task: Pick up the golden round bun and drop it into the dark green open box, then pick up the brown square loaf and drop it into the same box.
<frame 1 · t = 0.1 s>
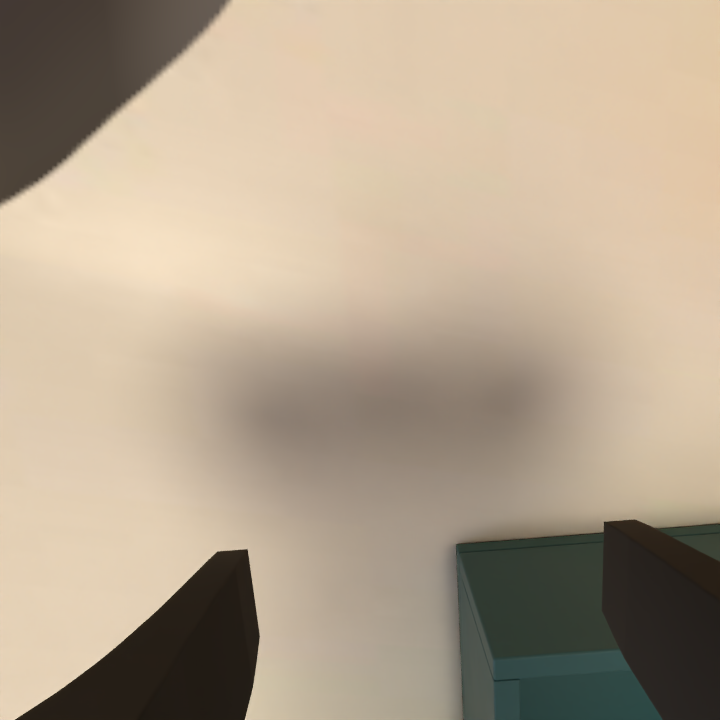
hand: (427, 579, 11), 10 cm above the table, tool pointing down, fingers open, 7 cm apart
dark green open box: (597, 685, 24), on the table
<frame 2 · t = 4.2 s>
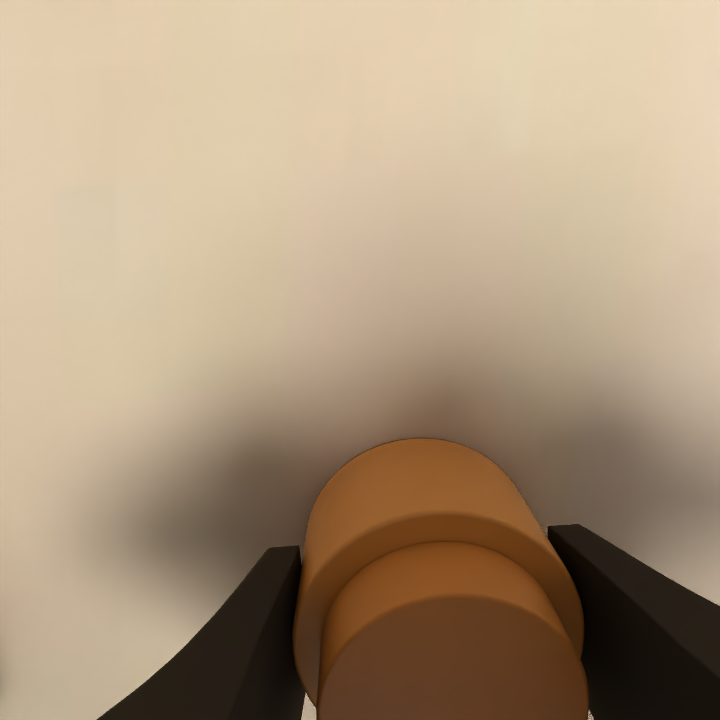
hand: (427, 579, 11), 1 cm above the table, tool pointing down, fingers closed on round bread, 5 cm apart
round bread: (417, 541, 13), on the table, touching gripper
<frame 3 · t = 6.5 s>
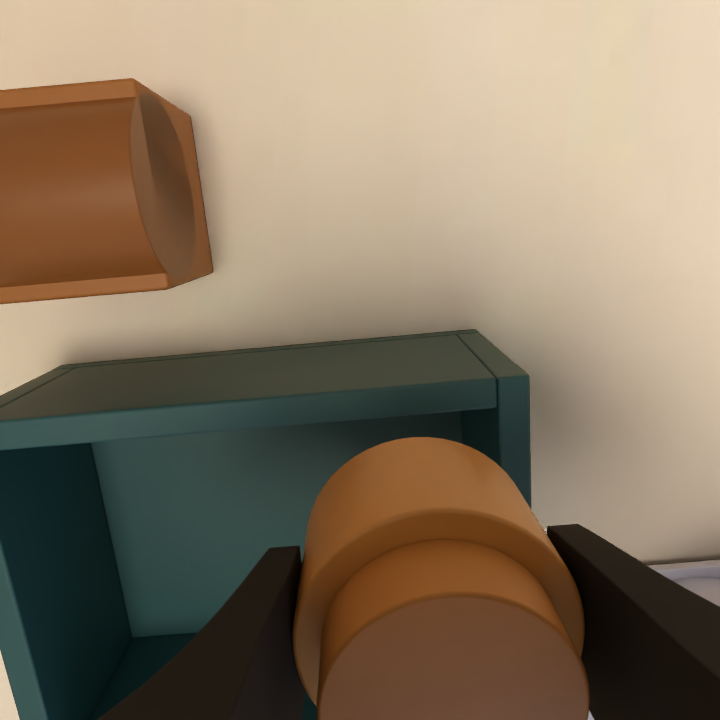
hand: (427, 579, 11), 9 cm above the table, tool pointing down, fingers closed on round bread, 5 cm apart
dark green open box: (287, 497, 21), on the table
square bread: (126, 203, 18), on the table
round bread: (417, 540, 13), point 8 cm above the table, touching gripper
when the fingers open (5 cm above the table, at t = 8.7 s): round bread drops 3 cm, resting on dark green open box.
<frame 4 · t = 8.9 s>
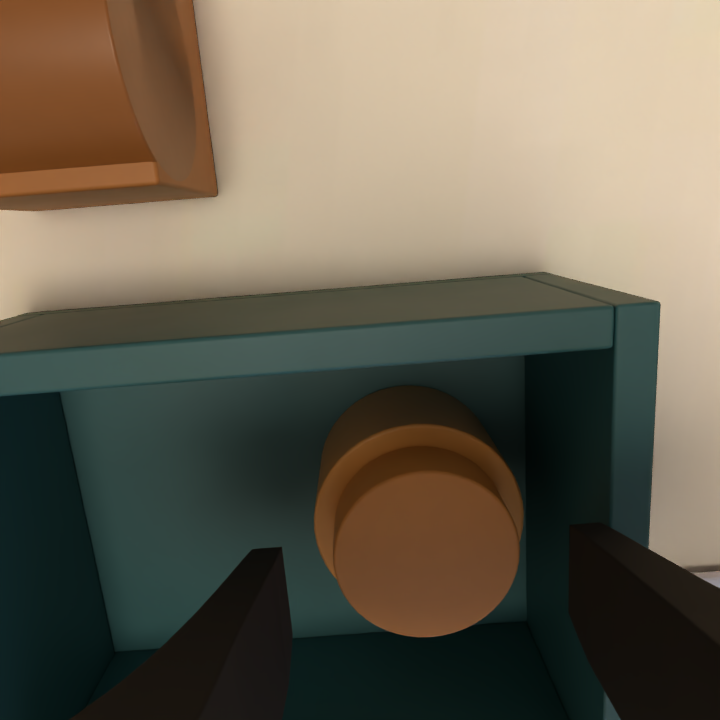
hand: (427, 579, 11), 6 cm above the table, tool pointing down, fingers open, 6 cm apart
dark green open box: (306, 482, 17), on the table
square bread: (109, 104, 15), on the table
round bread: (406, 467, 16), point 1 cm above the table, touching dark green open box
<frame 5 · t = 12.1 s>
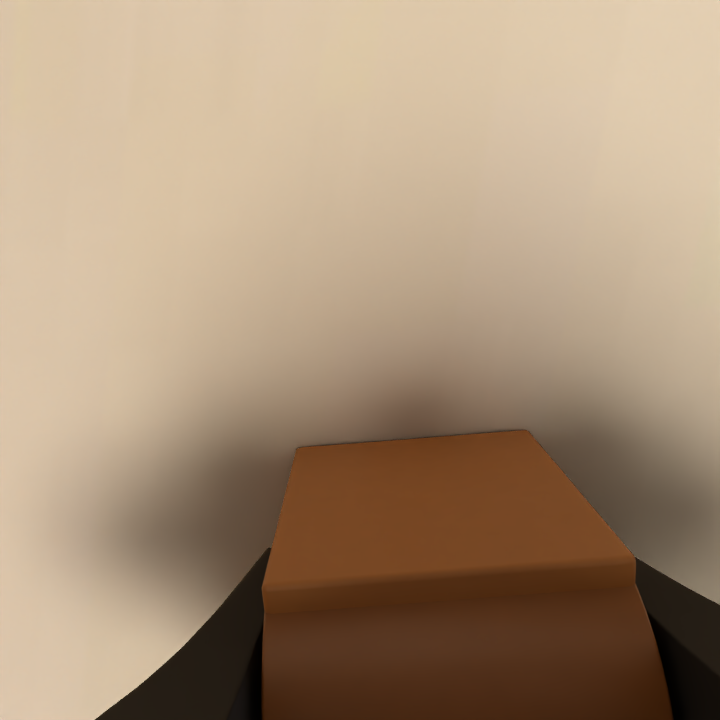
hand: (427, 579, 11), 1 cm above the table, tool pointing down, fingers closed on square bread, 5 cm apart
square bread: (417, 541, 13), on the table, touching gripper
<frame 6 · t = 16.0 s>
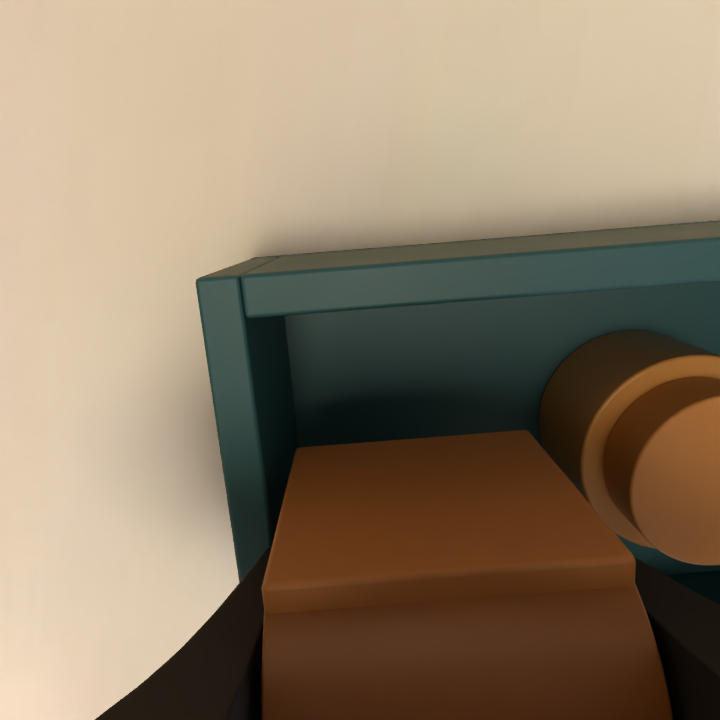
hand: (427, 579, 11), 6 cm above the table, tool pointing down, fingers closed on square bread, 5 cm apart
dark green open box: (513, 430, 17), on the table
square bread: (417, 541, 13), point 5 cm above the table, touching gripper
round bread: (622, 413, 16), point 1 cm above the table, touching dark green open box
when the fingers open (9 cm above the table, at t = 35.7 s): square bread drops 7 cm, resting on dark green open box.
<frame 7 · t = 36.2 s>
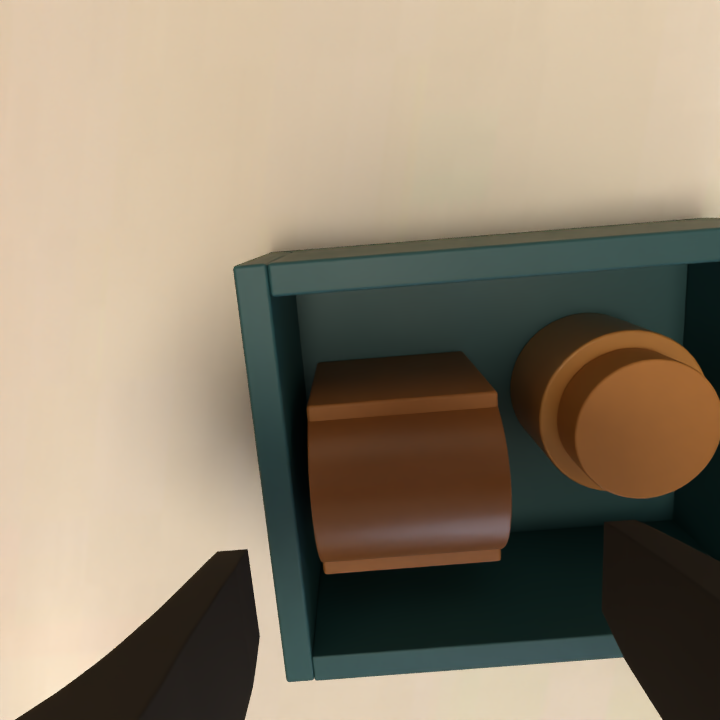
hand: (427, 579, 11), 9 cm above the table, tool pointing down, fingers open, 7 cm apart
dark green open box: (490, 399, 20), on the table
square bread: (394, 425, 20), point 1 cm above the table, touching dark green open box
round bread: (581, 383, 20), point 1 cm above the table, touching dark green open box
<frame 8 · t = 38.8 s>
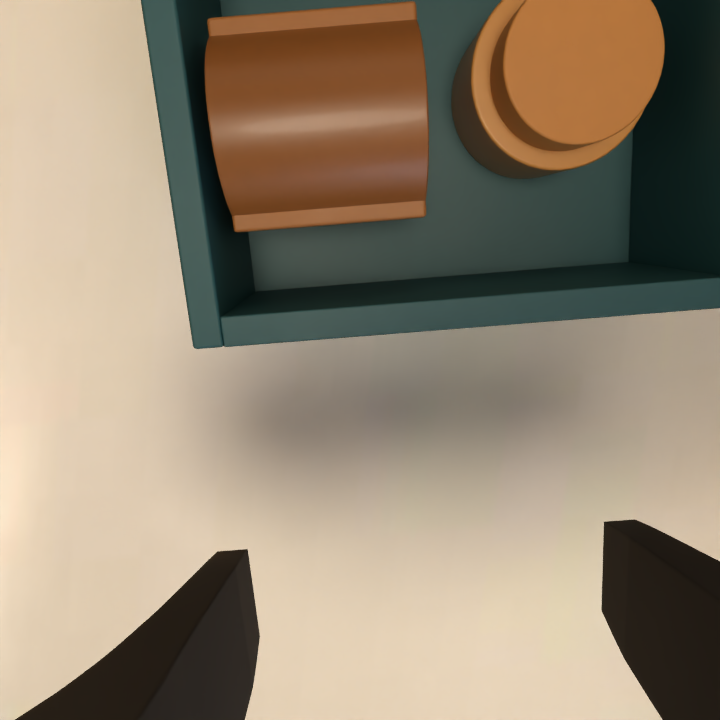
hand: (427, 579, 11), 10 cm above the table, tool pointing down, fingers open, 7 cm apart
dark green open box: (432, 126, 19), on the table
square bread: (328, 146, 19), point 1 cm above the table, touching dark green open box
round bread: (527, 98, 18), point 1 cm above the table, touching dark green open box
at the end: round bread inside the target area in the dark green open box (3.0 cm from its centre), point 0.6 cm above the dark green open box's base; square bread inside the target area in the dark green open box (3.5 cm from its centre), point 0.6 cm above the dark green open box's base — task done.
